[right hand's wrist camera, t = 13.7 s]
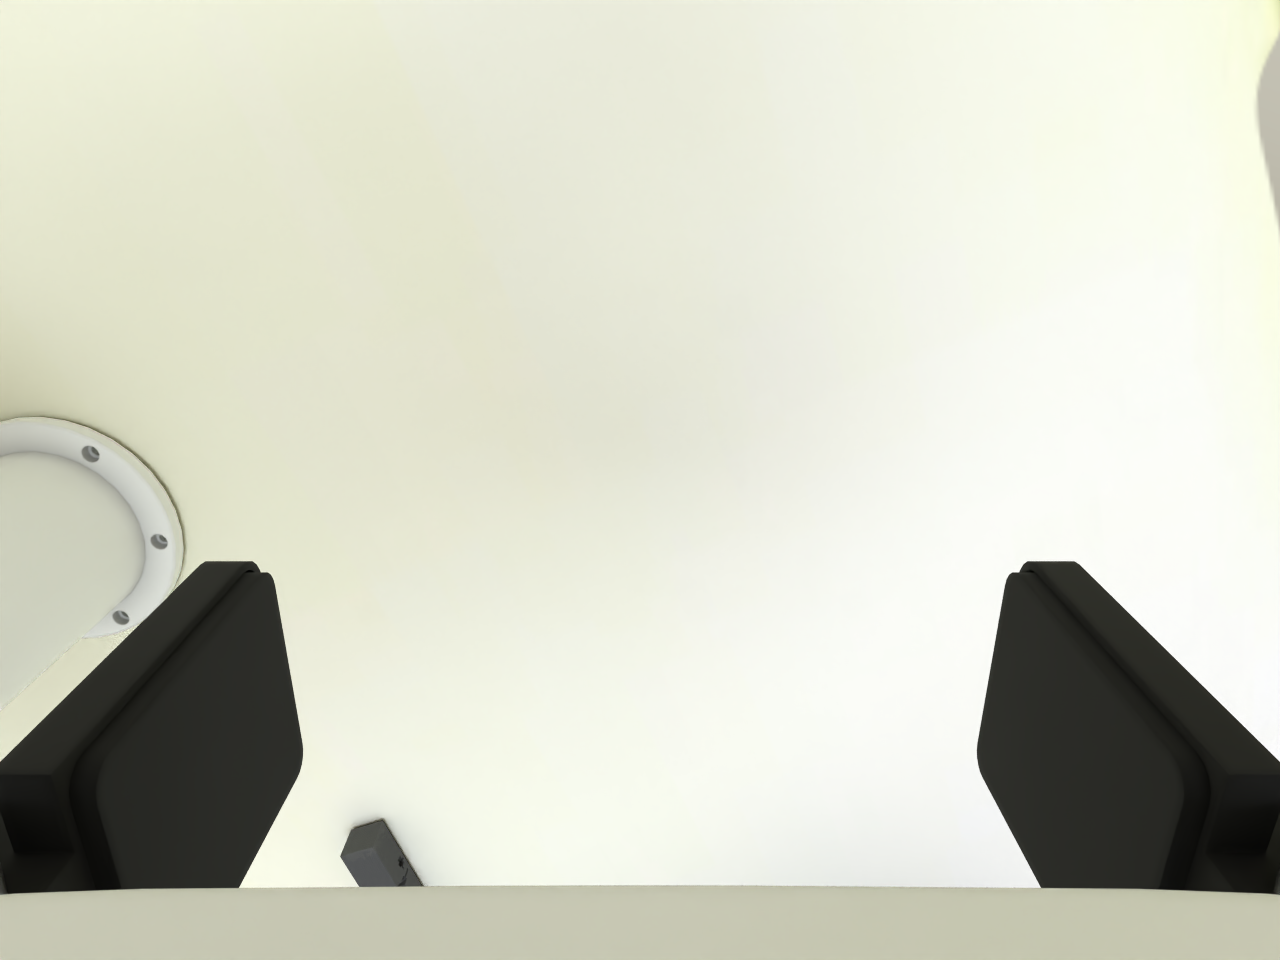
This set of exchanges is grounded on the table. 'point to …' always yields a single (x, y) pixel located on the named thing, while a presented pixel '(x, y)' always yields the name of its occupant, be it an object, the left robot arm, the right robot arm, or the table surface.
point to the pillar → (377, 858)
